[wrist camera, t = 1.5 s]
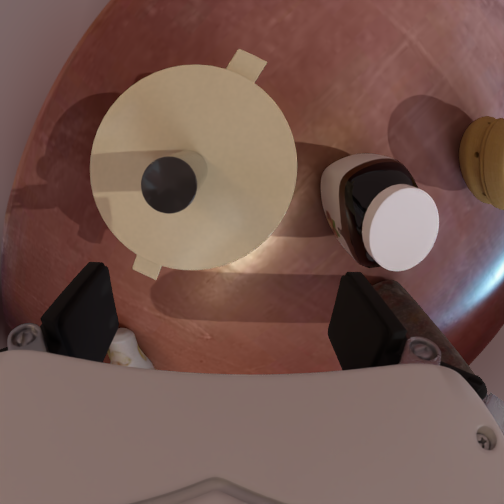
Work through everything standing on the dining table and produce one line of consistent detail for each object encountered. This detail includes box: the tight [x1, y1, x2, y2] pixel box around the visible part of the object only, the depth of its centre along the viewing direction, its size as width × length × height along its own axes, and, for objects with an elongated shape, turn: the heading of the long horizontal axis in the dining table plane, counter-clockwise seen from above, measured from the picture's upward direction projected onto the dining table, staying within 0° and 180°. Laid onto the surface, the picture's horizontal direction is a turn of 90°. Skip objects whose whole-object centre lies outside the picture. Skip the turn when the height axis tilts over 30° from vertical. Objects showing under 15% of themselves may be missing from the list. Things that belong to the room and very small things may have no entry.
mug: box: [107, 328, 156, 370], centre depth 34 cm, size 8×10×10 cm
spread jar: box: [320, 153, 439, 271], centre depth 25 cm, size 12×11×12 cm
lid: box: [90, 64, 297, 270], centre depth 17 cm, size 16×16×7 cm
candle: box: [373, 280, 475, 375], centre depth 27 cm, size 8×7×20 cm
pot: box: [459, 116, 504, 210], centre depth 23 cm, size 12×12×10 cm
